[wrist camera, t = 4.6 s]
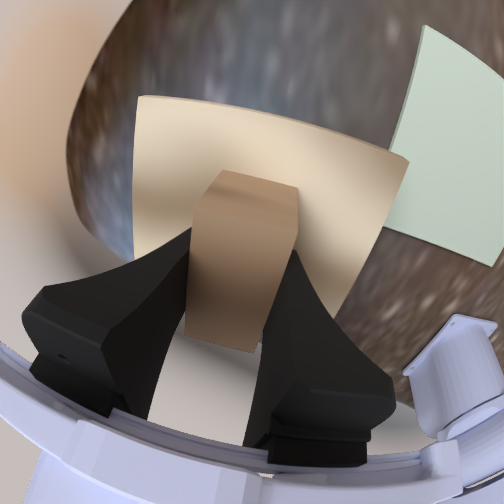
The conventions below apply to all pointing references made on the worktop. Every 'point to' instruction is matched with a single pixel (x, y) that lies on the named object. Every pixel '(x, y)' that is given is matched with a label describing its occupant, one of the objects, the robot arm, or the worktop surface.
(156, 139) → the lid
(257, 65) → the worktop surface
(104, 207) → the worktop surface
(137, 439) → the robot arm
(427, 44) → the mat
